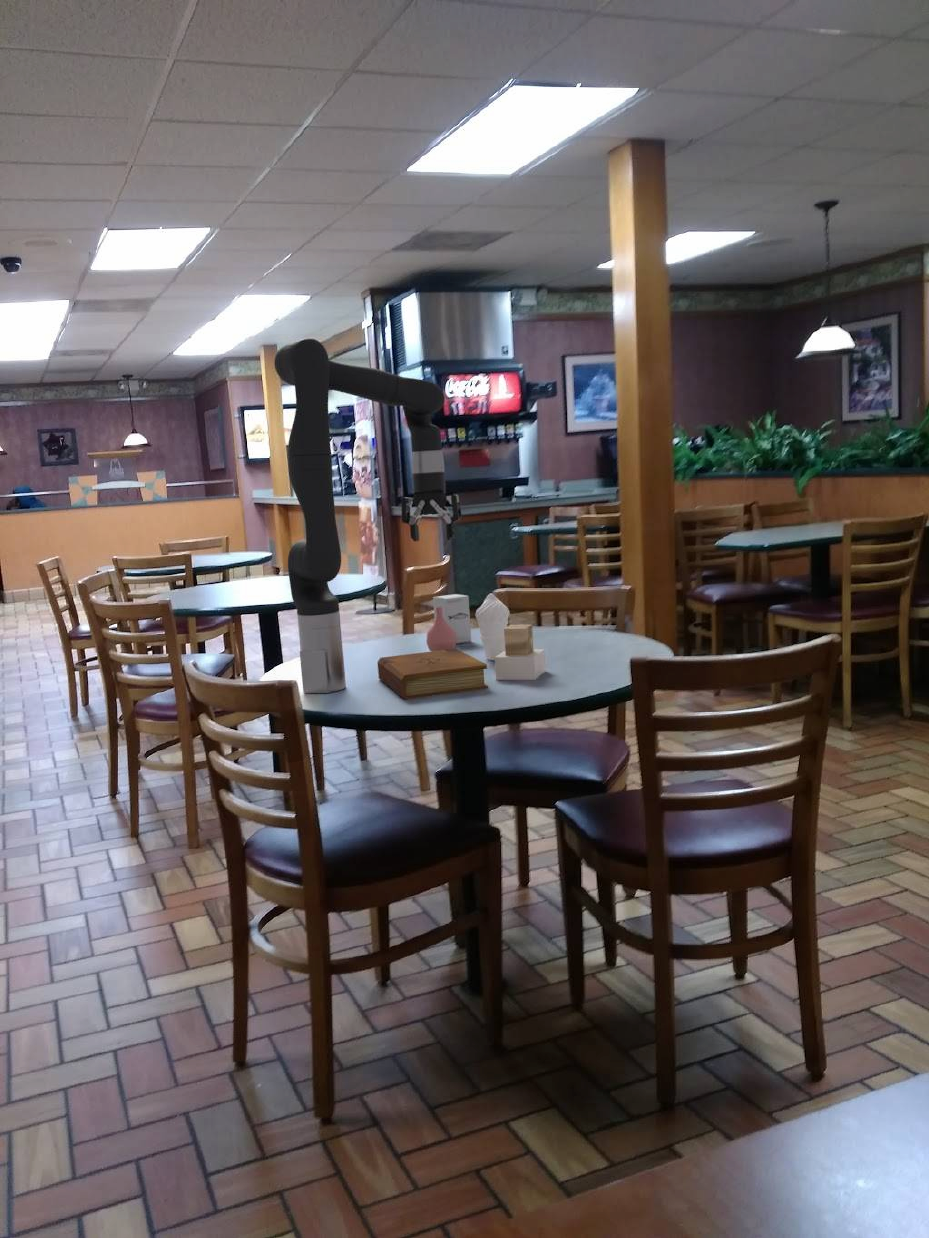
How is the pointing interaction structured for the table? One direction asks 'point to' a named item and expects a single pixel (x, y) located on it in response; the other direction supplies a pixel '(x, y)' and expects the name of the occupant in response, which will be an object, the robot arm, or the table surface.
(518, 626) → the oak block
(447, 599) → the supplement box
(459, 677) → the diary
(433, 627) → the pink vase
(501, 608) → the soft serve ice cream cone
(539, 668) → the plinth
